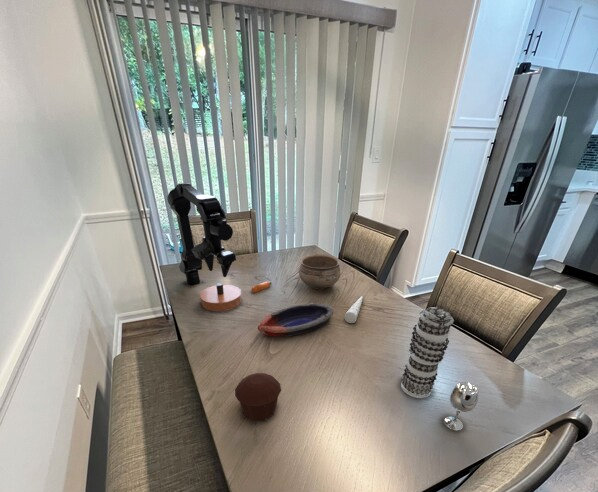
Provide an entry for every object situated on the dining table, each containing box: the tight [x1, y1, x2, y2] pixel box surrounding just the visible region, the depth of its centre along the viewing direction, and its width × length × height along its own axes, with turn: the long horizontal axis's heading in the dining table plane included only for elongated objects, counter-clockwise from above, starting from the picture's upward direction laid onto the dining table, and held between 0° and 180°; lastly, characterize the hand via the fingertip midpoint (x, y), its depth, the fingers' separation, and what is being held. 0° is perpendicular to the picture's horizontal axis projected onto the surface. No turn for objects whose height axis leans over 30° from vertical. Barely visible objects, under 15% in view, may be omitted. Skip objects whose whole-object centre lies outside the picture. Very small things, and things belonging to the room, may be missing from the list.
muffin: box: [234, 372, 282, 422], centre depth 83 cm, size 12×11×10 cm
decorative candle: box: [400, 306, 455, 399], centre depth 86 cm, size 9×9×25 cm
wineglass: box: [443, 381, 479, 431], centre depth 78 cm, size 6×6×12 cm
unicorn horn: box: [343, 295, 364, 324], centre depth 130 cm, size 5×24×5 cm, turn 156°
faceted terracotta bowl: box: [200, 295, 242, 312], centre depth 133 cm, size 16×16×4 cm
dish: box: [257, 303, 334, 337], centre depth 119 cm, size 16×31×5 cm, turn 118°
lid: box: [199, 282, 242, 304], centre depth 131 cm, size 17×17×5 cm
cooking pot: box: [298, 253, 342, 290], centre depth 146 cm, size 25×19×12 cm
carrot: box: [251, 281, 272, 294], centre depth 145 cm, size 11×3×3 cm, turn 138°
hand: (217, 273), depth 127 cm, fingers open, 9 cm apart
